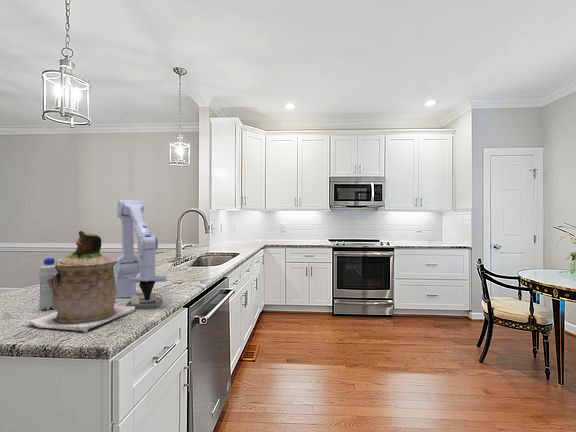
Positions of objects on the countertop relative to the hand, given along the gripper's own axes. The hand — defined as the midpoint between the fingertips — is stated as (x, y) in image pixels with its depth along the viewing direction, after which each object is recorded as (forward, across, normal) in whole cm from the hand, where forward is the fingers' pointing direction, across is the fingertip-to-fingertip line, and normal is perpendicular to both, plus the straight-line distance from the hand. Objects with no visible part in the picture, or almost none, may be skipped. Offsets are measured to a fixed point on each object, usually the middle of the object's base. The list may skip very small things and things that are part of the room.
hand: (147, 299), depth 127 cm
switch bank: (+3, -2, +3) cm, 4 cm away
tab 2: (+2, +1, +6) cm, 6 cm away
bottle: (+3, -37, +4) cm, 38 cm away
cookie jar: (+3, -18, -11) cm, 22 cm away
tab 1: (+2, -4, 0) cm, 5 cm away
